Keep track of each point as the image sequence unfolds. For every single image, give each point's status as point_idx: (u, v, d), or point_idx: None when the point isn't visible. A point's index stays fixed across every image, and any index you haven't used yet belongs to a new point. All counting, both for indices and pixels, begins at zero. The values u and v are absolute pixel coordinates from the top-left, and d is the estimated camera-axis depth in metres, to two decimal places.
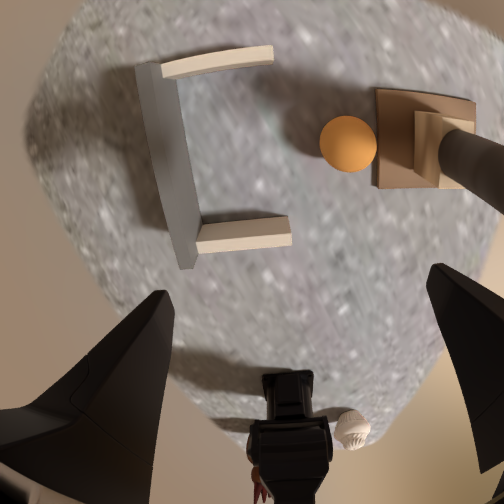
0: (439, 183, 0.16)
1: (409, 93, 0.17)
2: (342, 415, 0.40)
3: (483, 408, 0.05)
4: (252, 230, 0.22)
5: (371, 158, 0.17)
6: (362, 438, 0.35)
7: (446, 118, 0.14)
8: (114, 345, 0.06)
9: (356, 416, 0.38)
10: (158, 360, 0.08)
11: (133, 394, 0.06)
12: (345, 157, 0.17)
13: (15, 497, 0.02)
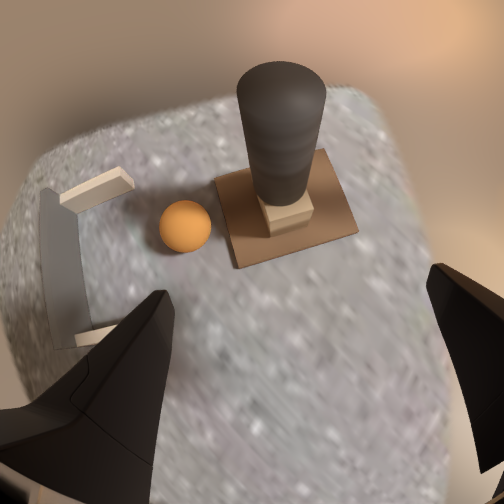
0: (268, 215, 0.19)
1: (245, 170, 0.24)
2: None
3: (484, 408, 0.05)
4: None
5: (197, 225, 0.20)
6: None
7: None
8: (114, 345, 0.06)
9: None
10: (158, 360, 0.08)
11: (133, 394, 0.06)
12: (170, 229, 0.20)
13: (15, 497, 0.02)
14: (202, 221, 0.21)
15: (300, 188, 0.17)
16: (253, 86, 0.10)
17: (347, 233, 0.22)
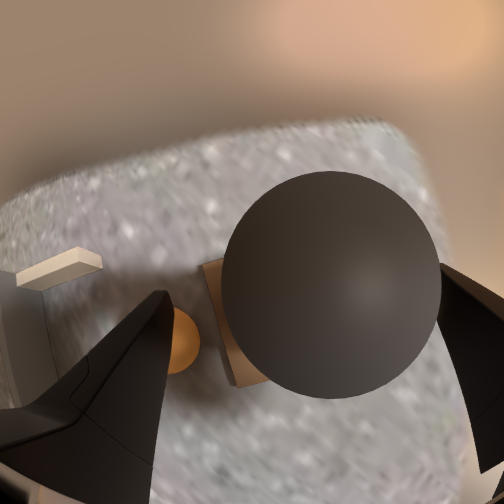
0: None
1: None
2: None
3: (483, 408, 0.05)
4: None
5: (181, 351, 0.14)
6: None
7: None
8: (114, 345, 0.06)
9: None
10: (158, 360, 0.08)
11: (133, 394, 0.06)
12: None
13: (15, 497, 0.02)
14: (187, 344, 0.15)
15: None
16: (266, 272, 0.04)
17: None
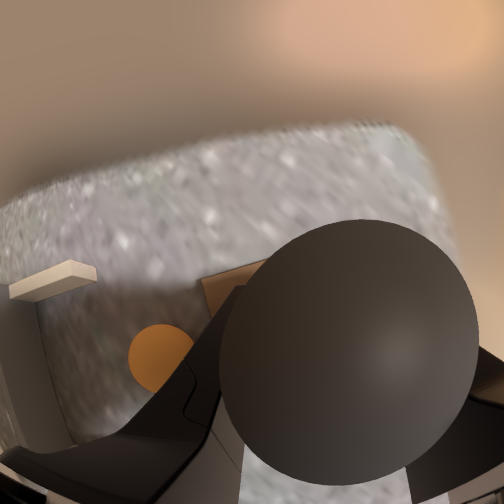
0: None
1: (246, 268, 0.17)
2: None
3: None
4: None
5: None
6: None
7: None
8: (216, 345, 0.06)
9: None
10: None
11: None
12: (141, 376, 0.13)
13: None
14: None
15: None
16: (277, 358, 0.03)
17: None
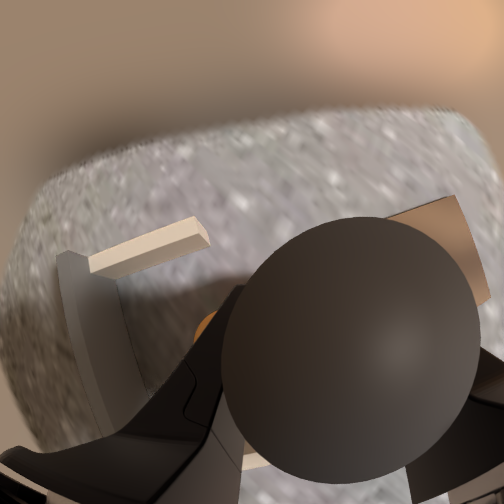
0: None
1: None
2: None
3: None
4: None
5: None
6: None
7: None
8: (216, 345, 0.06)
9: None
10: None
11: None
12: None
13: None
14: None
15: None
16: (279, 358, 0.03)
17: (482, 301, 0.15)
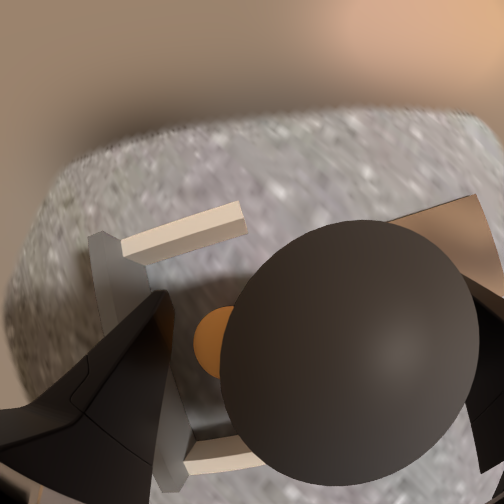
0: None
1: (408, 218, 0.17)
2: None
3: (483, 408, 0.05)
4: None
5: None
6: None
7: None
8: (114, 345, 0.06)
9: None
10: (158, 360, 0.08)
11: (133, 394, 0.06)
12: None
13: (15, 497, 0.02)
14: None
15: None
16: (277, 359, 0.03)
17: (500, 295, 0.15)
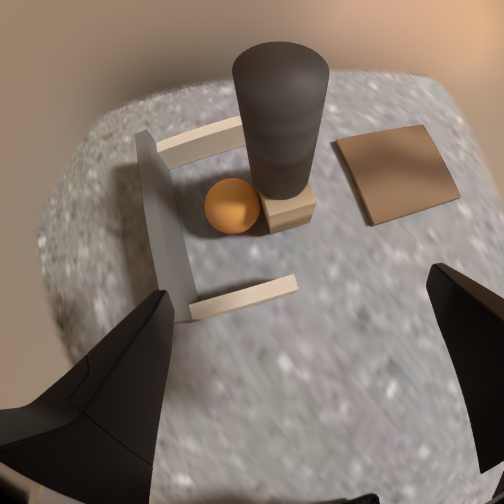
0: (268, 210, 0.17)
1: (364, 135, 0.23)
2: None
3: (484, 408, 0.05)
4: None
5: None
6: None
7: None
8: (114, 345, 0.06)
9: None
10: (158, 360, 0.08)
11: (133, 394, 0.06)
12: None
13: (15, 497, 0.02)
14: None
15: (302, 180, 0.16)
16: (250, 65, 0.09)
17: (453, 198, 0.21)
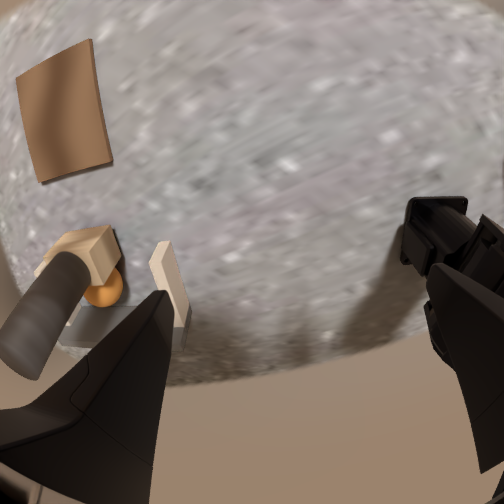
0: (99, 284, 0.20)
1: (31, 153, 0.18)
2: None
3: (483, 408, 0.05)
4: None
5: None
6: None
7: None
8: (114, 345, 0.06)
9: None
10: (158, 360, 0.08)
11: (133, 394, 0.06)
12: None
13: (15, 497, 0.02)
14: None
15: (72, 277, 0.17)
16: (19, 371, 0.12)
17: (88, 50, 0.14)
